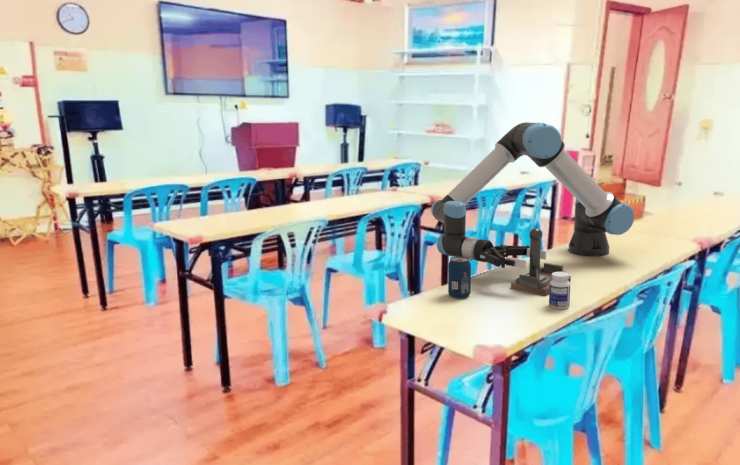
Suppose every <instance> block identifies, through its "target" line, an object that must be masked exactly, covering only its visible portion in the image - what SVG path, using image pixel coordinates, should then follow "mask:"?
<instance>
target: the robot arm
mask: <svg viewBox="0 0 740 465" xmlns="http://www.w3.org/2000/svg"><path fill="white" fill-rule="evenodd" d="M494 144H495V145H494V148H493V150H491V152H490V153H488V154H487V155H486V156H485V157H484V158H483V159H482V160H481V161H480V162H479V164H477V165H476V166H475V167H474V168H473V169H472V170H471V171H470V172H469V173H468V174H467V175H466V176H464V178H463V179H462V180H461V181H460V182H459V183H458V184H456V186H455V187H454V188H452V189H451V191H450V192H448V193H447V194H446V195H445V196H444V197H443V198H441V199H437V200H436V201H434V202H433V203H432V204H431V208H430V211H431V215H432V216H433V217H434V219H435V220H437V221H438V222H441V224H443V233H441V234H440V235H439V236H438V238H437V242H436V248H437V251H438V252H439V253H441V254H442V255H446V256H448V257H466V258H468V259H469V262H472V261H476V262H480V263H489V264H491V265H493V266H496V267H498V268H499V267H500V268H501V269H504V268H505V267H506V266H507V267H511V268H516V269H521V270H522V269H523V270H526V269H527V260H526V259H521V258H516V256H520V257H521V256H526V257H527V258H530V245H529V244H528V245H508V244H507V245H505V244H500V245H495V246H494V245H493V242H492V241H491V240H488V239H481V238H475V237H469V236H466V221H467V220H466V218H467V217H466V214H467V208H466V205H467V204H468V203H469V202H470V201H471V200H472V199H473V198H474V197H475V196H476V195H477V194H479V192H480V191H481V190H482V189H484V188H485V187H486V185H488V184H489V183H490V182H491V181H492V180H493V179H494V178H495V177H496V176H497V175H498V174H499V173H500V172H501V171H502V170H503V169H505V168H506V166H508V164H510V163H515V162H516V161H517V160H519V159H520V158H521V157H524V156H527V157H529V159H530V160H531V161H532V162H533V163H535V165H536V166H537V167H539V168H545V169H546V170H548V172H550V174H551V175H552V176H554V178H555V179H557V180H558V182H560V183H561V185H562V186H563V187H565V189H566V190H567V191H568V192H569V193H570V194H571V195H572V196H573V197H574V198H575V200H574V201H575V202H574V223H573V224H574V225H573V228H574V229H573V233H572V236H571V238H570V241H569V243H568V251H569V252H570V253H573V254H575V255H579V256H580V255H581V256H588V257H589V256H590V257H591V256H593V257H595V256H597V257H599V256H605V255H608V254H609V253H610V243H609V240H608V237H607V234H609V235H616V236H620V235H623V234H625V233H626V232H628V231H629V230H630V229H631V227H632V226H633V224H634V221H635V220H634V219H635V210H634V209H633V208H632V207H631V206H630V205H629V204H627V203H623V202H621V201H620V200H619V199H618V198H617V197H616V196H615V194H614V193H613V192H610V191H605V190H603V189H602V187H600V185H599V184H598V183H597V182H596V181H594V179H593V178H592V177H591V176H590V175H589V174H588V173H587V172H586V170H584V169H583V167H581V166H580V164H579V163H578V162H576V161H575V159H574V158H573V157H572V156H571V155H570V154H569V153H568V152H567V151H566V150H565V148H566V146H565V143H564V141H563V140H562V137H561V133H560V131H559V130H558V129H557V128H556V127H555V126H554V125H551V124H549V123H545V122H530V121H529V122H526V121H525V122H521V123H518V124H517V125H515V126H513V127H512V128H511V129H510V130H509V131H507V132H506V133H505V134H504V135H503V136H502V137H501V138H500V139H498V141H497V142H496V143H494ZM511 256H515V257H511ZM540 260H545V261H546V260H547V250H543V249H541V252H540Z"/></svg>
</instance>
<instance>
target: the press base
mask: <svg viewBox="0 0 740 465" xmlns="http://www.w3.org/2000/svg"><path fill="white" fill-rule="evenodd" d="M553 272H566V270H564V265H560V264H553V263H548V262H544V263H543V266H540V275H541V276H546V280H544V281H542V282H540V283H539V278H536V277H531V276H526V275H528V274H529V272H528V273H525V274H519V275H518V277H517V278H515V279H516V280H513V281H512V282H510V290H516V291H520V292H524V293H529V294H530V293H531V294H533V295H539V296H544V297H547V296H549V288H550V281H551V280H552V273H553ZM566 273H567V272H566ZM571 278H572V276H570V275H569V279H568V281H569V282H570V283H571V281H572V280H571Z"/></svg>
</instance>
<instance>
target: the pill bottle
mask: <svg viewBox="0 0 740 465" xmlns="http://www.w3.org/2000/svg"><path fill="white" fill-rule="evenodd" d="M569 276H570V274H569V273H568V272H553V273H552V280H551V281H550V288H549V295H548V305H549V307H550V308H552V309H556V310H567V309H569V307H570V305H571V303H570V301H571V282H569V281H568V279H569Z"/></svg>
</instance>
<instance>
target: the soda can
mask: <svg viewBox="0 0 740 465" xmlns="http://www.w3.org/2000/svg"><path fill="white" fill-rule="evenodd" d="M447 271H448V272H447V274H448V275H447V278H448V280H447V281H448V282H447V283H448V284H447V286H448V287H447V289H448V290H447V292H448V295H449V296H450V297H451V298H453V299H456V300H458V299H459V300H462V299H463V300H464V299H467V298H469V296H470V295H471V293H472V292H471V290H472V289H471V287H472V286H471V285H472V284H471V283H472V274H471V273H472V264H471V261H470V259H468V258H466V257H454V256H451V257H450V260H449V262H448V268H447Z"/></svg>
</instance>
